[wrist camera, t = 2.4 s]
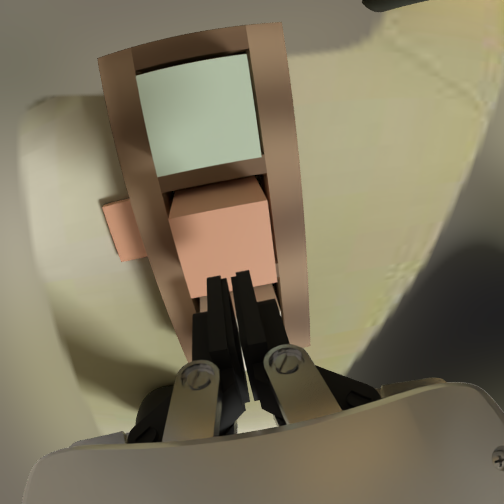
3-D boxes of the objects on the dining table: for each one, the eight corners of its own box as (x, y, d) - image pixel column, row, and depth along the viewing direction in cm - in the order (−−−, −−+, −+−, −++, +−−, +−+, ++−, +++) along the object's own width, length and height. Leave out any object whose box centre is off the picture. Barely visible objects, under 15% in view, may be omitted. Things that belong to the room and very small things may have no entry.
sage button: (151, 78, 14) (135, 76, 11) (237, 61, 14) (246, 53, 11) (167, 157, 17) (157, 177, 13) (249, 141, 17) (261, 157, 13)
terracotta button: (175, 190, 18) (168, 219, 14) (254, 175, 18) (267, 200, 14) (192, 258, 20) (191, 298, 16) (264, 245, 20) (277, 282, 17)
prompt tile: (104, 204, 19) (102, 207, 18) (138, 195, 19) (137, 198, 18) (122, 258, 21) (121, 261, 20) (155, 251, 21) (154, 255, 20)
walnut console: (113, 61, 15) (97, 58, 12) (269, 31, 15) (281, 22, 12) (190, 340, 25) (190, 368, 23) (300, 320, 26) (310, 345, 23)
